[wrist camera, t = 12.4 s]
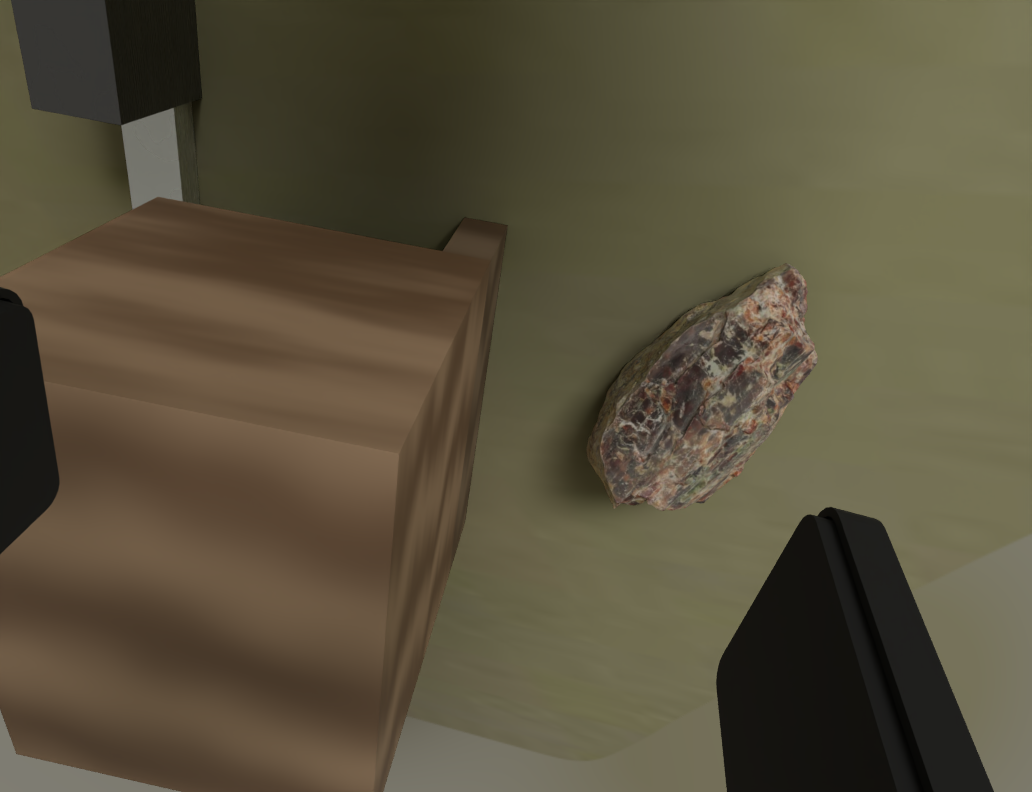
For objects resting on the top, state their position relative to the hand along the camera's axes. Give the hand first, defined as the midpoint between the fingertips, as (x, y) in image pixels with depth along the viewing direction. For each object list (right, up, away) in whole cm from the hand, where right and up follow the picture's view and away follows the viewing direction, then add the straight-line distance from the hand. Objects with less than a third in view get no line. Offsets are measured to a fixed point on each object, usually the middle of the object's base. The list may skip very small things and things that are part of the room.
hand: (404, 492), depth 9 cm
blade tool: (-15, +10, +26) cm, 32 cm away
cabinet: (-7, +3, +30) cm, 31 cm away
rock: (+10, +3, +27) cm, 29 cm away
